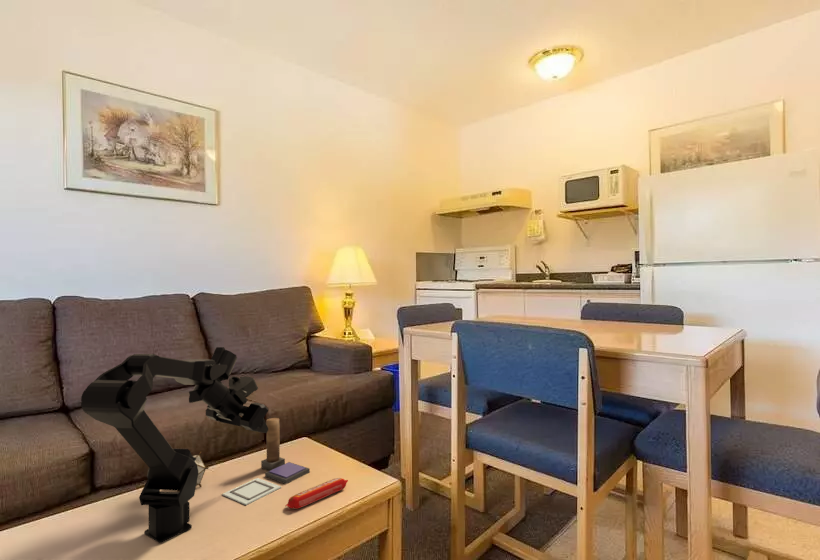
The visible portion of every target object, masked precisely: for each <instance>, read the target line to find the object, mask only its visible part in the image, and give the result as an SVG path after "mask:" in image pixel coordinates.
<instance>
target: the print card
mask: <svg viewBox="0 0 820 560" xmlns="http://www.w3.org/2000/svg"><path fill="white" fill-rule="evenodd" d="M279 489H282V486H281V485H278V484H276V483H272V482H270V481H268V480H264V479H262V478H259V477H257V478H254V479H252V480H250V481H248V482H244V483H243V484H241V485H239V486H237V487H234V488H232V489H229V490H227V491H225V492H223V493H222V496H224V497H226V498H229V499H231V500H233V501H236V502H237V503H240V504H242V505H245V506H247V505H249V504H252V503H254V502H255V501H257V500H260V499H262V498H263V497H266V496H267V495H269V494H271V493H274V492H275V491H277V490H279Z"/></svg>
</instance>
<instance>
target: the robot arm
mask: <svg viewBox="0 0 820 560" xmlns="http://www.w3.org/2000/svg"><path fill="white" fill-rule="evenodd" d="M237 360H238V356H237V354H235V353H234V352H232V351H231V350H227V349H225V347H224V346H217V347H216V348H215V349H214V352H213V354H212V355H211V357H210V359H190V358H189V359H178V358H177V359H176V358H171V357H166V356H159V355H157V354H155V353H134V354H131V355H129V356H127V357H126V358H125V359H124V360H123V362H121V363H119V364H117V365H116V366H114V367H112V368H110V369H108V370H106V371H105V372H102V373H101V374H100V375H99V376H98V377H96V379H94V381H91V382H90V383H89V384H88V385H87V386H86V388H85V390H84V391H83V392H82V394H81V396H80V397H81V398H80V399H81V401H80V407H81V409H82V411H83V412H84V413H85V414H86V415H88V416H89V417H91V418H92V419H94V420H95V421H99V422H101V423H103V424H106V425H107V426H108V425H109V426H110V427H113V428H115V429H116V431H117V432H118V433H119V434H120V435H121V436H122V437H123V439H124V440H125V441H126V442H127V443H128V445H129V446H130V447H131V448H132V449H133V450H134V451H135V453H136V454H137V455H138V456H139V458H141V460H142V461H143V462H144V464H146V466H147V467H148V471H147V473H146V474H147V475H146V478H147V480H146V482H145V483H144V486H143V488H142V491H141V492H140V494H139V497H138V500H139V502H140V503H139V504H140V505H141V506H148V516H147V517H148V529H145V530H144V532H143V533H144V535H145V536H148V537H149V538H150V539H151V540H153V541H155V542H157V543H158V544H163V543H164V542H166V541H168V540H171V539H173V538H174V537H177V536H179V535H180V534H183V533H185V532H187V531H189V530H190V529H192V527H193V525H192V524H191V523H189V522H190V500H192V499H193V498H194V497H195V494H196V488H197V486H196V484H197V478H198V467H197V464H196V462H195V460H196V458H194V457H193V456H194V455H193V454H192V451H191V450H189V449H188V448H173V447H172V446H171V444H170V443H169V442H168V440H167V439H166V438H165V436H164V435H163V434H162V432H161V431H160V430H159V429H158V426H156V424H155V423H154V422H153V421H152V419H151V418H150V416H149V415H148V414H147V413H146V412H145V407H146V403H147V401H148V400H147V396H148V395H149V394H150V393H151V391H152V390H153V383H154V378H155V377H157V378H158V377H159V378H167V379H168V378H169V379H174V380H175V381H176V383H179V384H181V385H185V386H187V385H190V386H194V387H193V389H192V390H189V391H188V393H189V396H188V403H189V404H193V403H197V402H201V401H202V402H203V403H205V404H206V405H207V406H206V410H205V416H206V418H208V419H210V420H212V421H215V422H218V423H222V424H228V425H232V426H237V427H241V428H243V429H244V430H248V431H250V432H257V433H262V434H267V432H268V430H269V429H268V427H267V421H266V419H265V416H266V415H267V413H269V407H267V405H265V404H264V403H259V402H252V403H250V404H249V406H247V405H245V404H246V403H247V402H248V399H247V397H249V396H250V395H252V394H253V393H254V392H257V390H258V389H259V386H258V384H257V382H256V380H255V378H254V377H251V376H240V377H238V376H235V375H234V376H230V375H231V373H232V371H233V369H234V367H235V364H236V363H237ZM134 376H135V377H136V376H140V377H138V379H137V380H132V378H133V377H134ZM225 380H226V381H227V380H228V386H227V385H225V384H224V383H223V382H222V381H225ZM161 490H162V491H161ZM163 490H164V491H163ZM177 490H180V491H179V492H177Z"/></svg>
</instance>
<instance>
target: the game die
mask: <svg viewBox="0 0 820 560" xmlns="http://www.w3.org/2000/svg"><path fill="white" fill-rule="evenodd" d="M201 454H202V451H200V452H198V454H193V455H192V456H193V457H194V458H196V460H195V462H196V464H197V467H198V478H197V484H196V487H197V486H199V488H201V487H202V484H201V483H202V480H203V478H204V475H205V472H206V470H208V469H209V468H210V467H208V466H206V465H205V463H204V461H203V459H202V457H201ZM179 491H180V490H176V492H179Z"/></svg>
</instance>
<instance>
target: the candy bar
mask: <svg viewBox="0 0 820 560" xmlns="http://www.w3.org/2000/svg"><path fill="white" fill-rule="evenodd" d="M348 482H349V480H348V479H346V480H345V479H344V478H341V477H337V478H332V479H330V480H327V481H326V482H322V483H320V484H317V485H316V486H313V487H310V488H308V489H306V490H303V491H300V492H299V493H296V494H294V495H292V496H291V497H289V498H288V501H287V504H285V507H288V508H289V509H300V508H303V507H305V506H308V505H310V504H312V503H314V502H317V501H318V500H322V499H323V498H326V497H328V496H331V495H333V494H335V493H337V492H339V491H341V490H344V489H345V488H346V485H347V483H348Z"/></svg>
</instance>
